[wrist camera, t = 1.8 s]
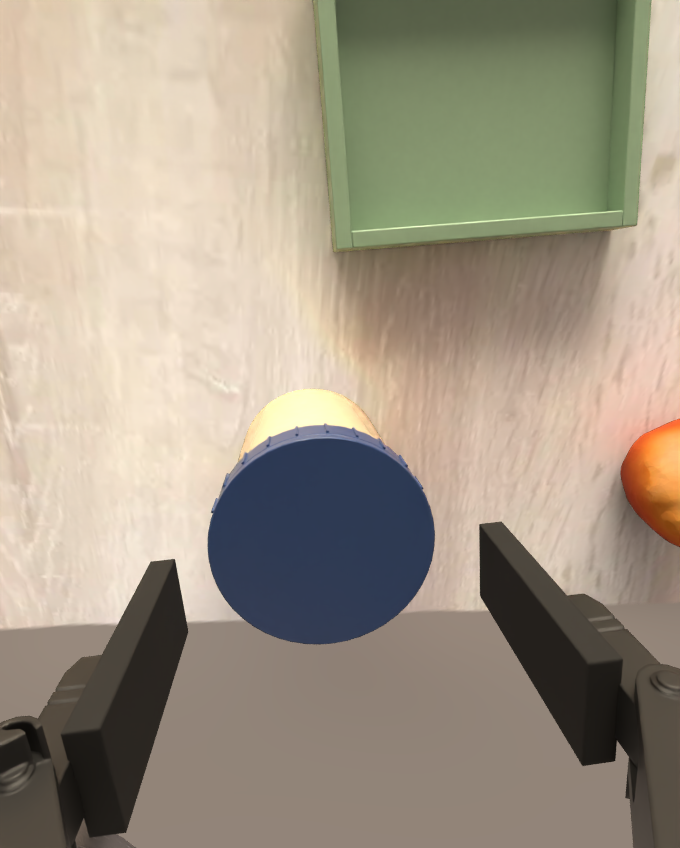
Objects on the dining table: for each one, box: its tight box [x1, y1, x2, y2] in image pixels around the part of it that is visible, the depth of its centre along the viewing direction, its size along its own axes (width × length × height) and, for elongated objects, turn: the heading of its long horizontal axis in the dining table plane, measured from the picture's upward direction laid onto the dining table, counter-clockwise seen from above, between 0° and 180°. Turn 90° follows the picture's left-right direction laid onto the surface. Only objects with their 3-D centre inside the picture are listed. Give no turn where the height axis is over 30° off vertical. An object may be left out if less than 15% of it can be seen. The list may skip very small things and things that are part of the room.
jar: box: [237, 389, 384, 463], centre depth 25 cm, size 8×8×10 cm
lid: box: [208, 423, 435, 644], centre depth 20 cm, size 9×9×2 cm
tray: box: [313, 0, 651, 252], centre depth 25 cm, size 16×14×2 cm
